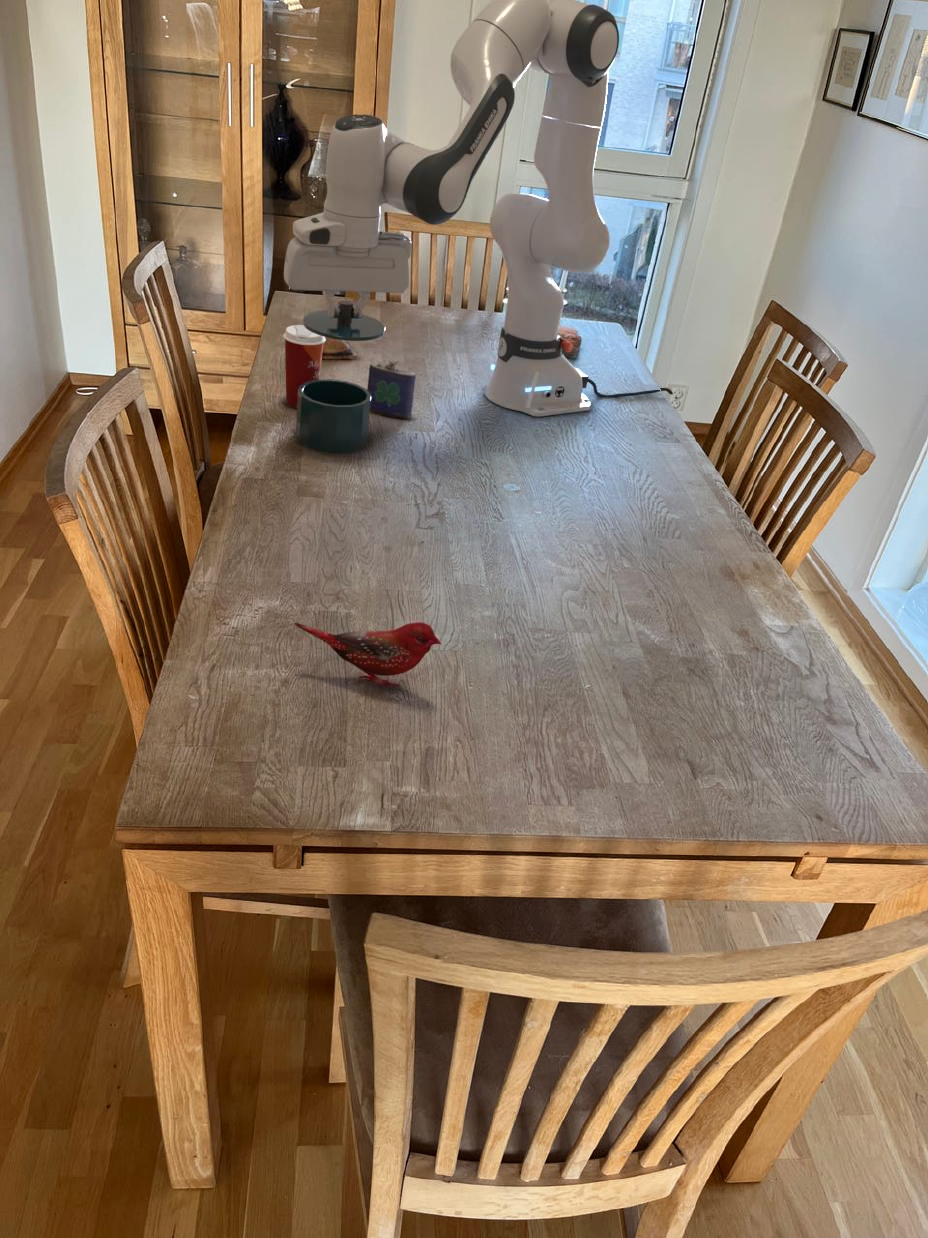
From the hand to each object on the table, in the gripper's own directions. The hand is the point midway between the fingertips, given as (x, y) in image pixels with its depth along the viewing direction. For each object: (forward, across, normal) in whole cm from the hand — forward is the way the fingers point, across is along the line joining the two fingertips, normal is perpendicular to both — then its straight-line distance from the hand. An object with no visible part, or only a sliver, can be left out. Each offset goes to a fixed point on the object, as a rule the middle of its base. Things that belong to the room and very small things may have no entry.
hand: (344, 317), depth 162 cm
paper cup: (+23, +2, -18) cm, 29 cm away
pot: (+22, 0, -2) cm, 23 cm away
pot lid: (+2, 0, 0) cm, 2 cm away
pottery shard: (+23, -69, -51) cm, 88 cm away
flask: (+23, -14, -12) cm, 29 cm away
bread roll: (+23, -12, -45) cm, 52 cm away
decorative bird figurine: (+23, +16, +67) cm, 72 cm away
